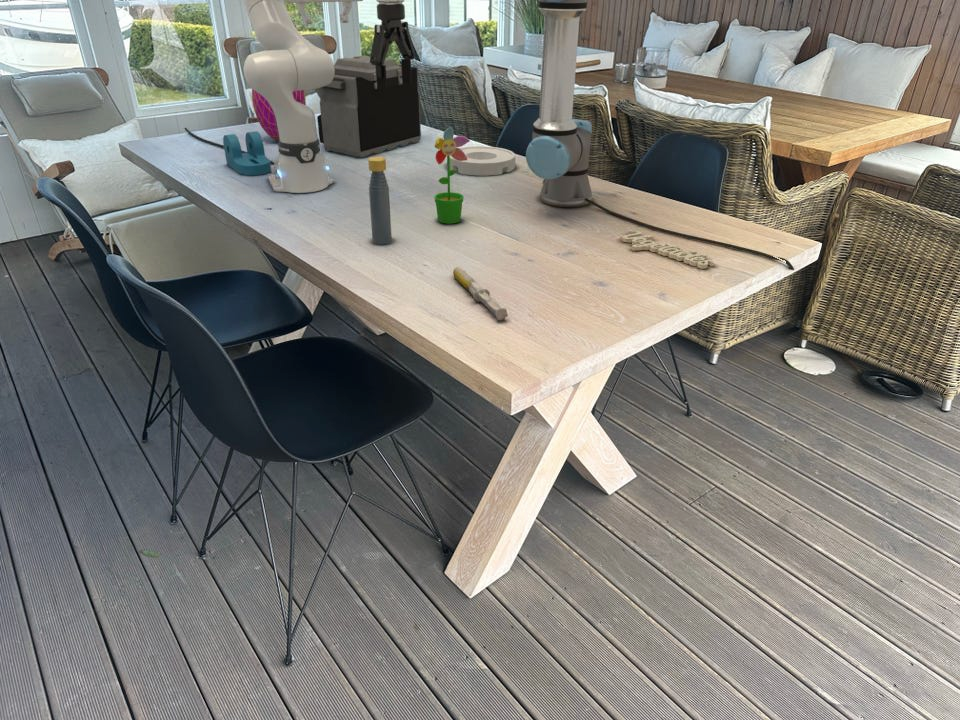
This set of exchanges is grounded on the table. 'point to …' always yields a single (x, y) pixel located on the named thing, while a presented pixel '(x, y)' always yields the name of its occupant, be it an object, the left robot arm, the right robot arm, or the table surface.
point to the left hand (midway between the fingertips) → (326, 23)
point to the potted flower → (449, 201)
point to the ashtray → (484, 161)
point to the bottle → (380, 208)
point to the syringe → (479, 293)
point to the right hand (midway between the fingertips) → (394, 87)
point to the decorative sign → (666, 249)
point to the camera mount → (246, 154)
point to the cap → (377, 163)
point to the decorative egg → (271, 112)
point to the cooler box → (368, 109)
